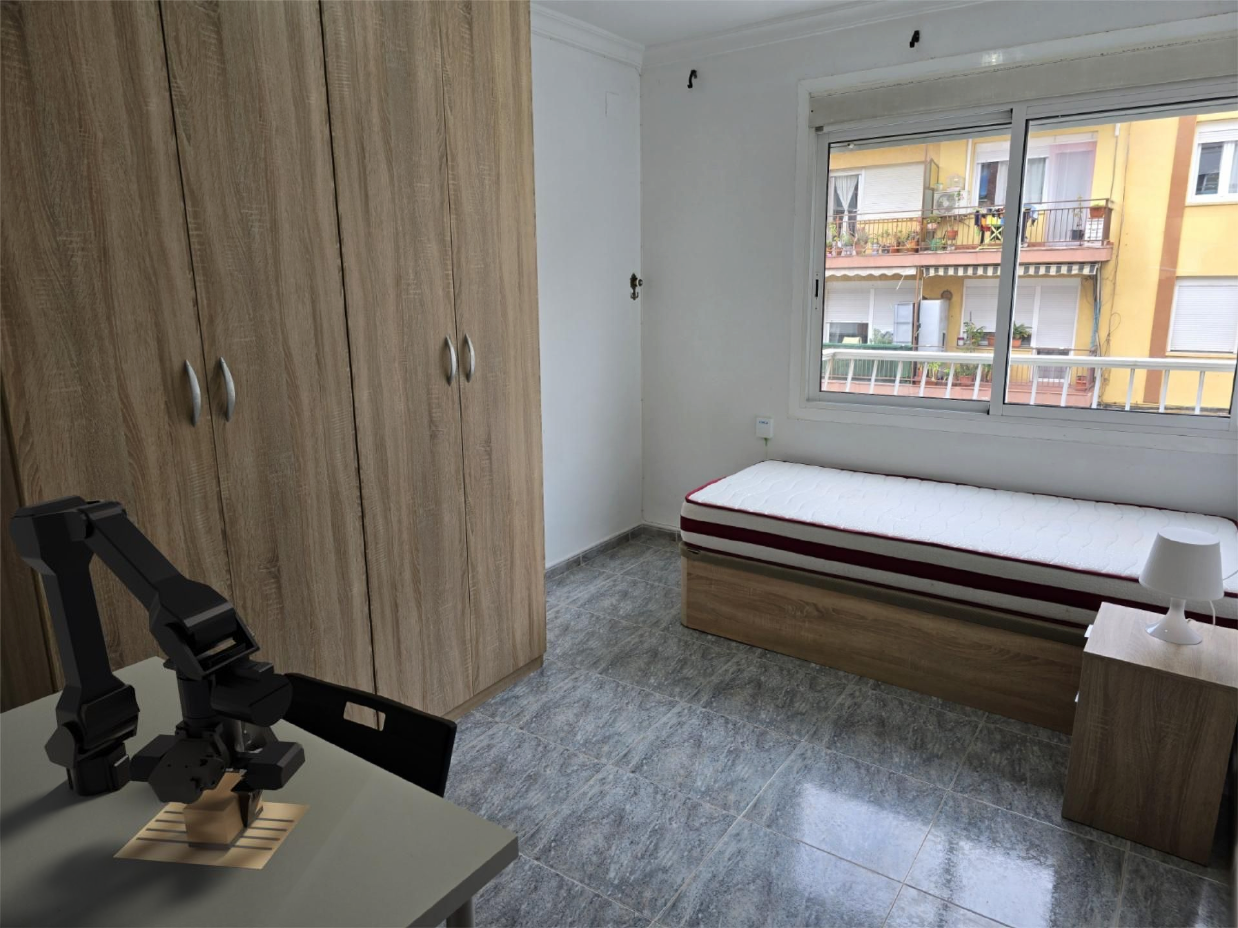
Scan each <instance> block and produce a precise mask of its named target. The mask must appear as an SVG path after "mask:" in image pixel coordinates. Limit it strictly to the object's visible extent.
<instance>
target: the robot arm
mask: <svg viewBox="0 0 1238 928" xmlns="http://www.w3.org/2000/svg"><path fill="white" fill-rule="evenodd" d="M7 529H8V534H9V536H10V537H9V538H10V539H11V541H12V542H13V544H14V545H15V547H16V550H17V553H18V556H19V558H20V559H21V560H23V561H24V562H25V563H27V564H28V566H30V567H31V568H32V569H34V570H35V572H37V573H39V575H40V578H41V581H42V585H43V590H44V594H45V599H46V603H47V606H48V607H47V608H48V611H49V616H50V621H51V625H52V630H53V634H54V637H55V641H56V642H55V644H56V645H57V652H58V656H59V660H60V664H61V668H62V673H63V677H64V683H65V685H64V687H63V690H62V692H61V694H60V696H59V699H58V701H57V703H56V705H55V709H54V710H55V718H56V726H57V727H56V728H55V730H54V731H53V733H52V735H51V736H50V737H49V738H48V740H47V741H46V743H45V744H44V745H43V746H44V750H45V753H46V755H47V758H48V760H49V762H51V763H52V764H55V765H58V766H60V767H63V768H65V771H66V775H67V776H66V777H67V781H68V787H69V788H68V789H69V790H72V791H74V794H75V795H77V796H79V797H94V796H99V795H102V794H104V793H113V792H118V791H121V790H122V789H123V788H125V786H127V784H129V783H130V782H138V783H139V782H140V783H148V785H149V787H150V788H151V790H152V791H153V793H154V794H155V796H156V798H157V800H158V801H159V802H160V803H164V804H167V803H170V802H178V803H183V804H192V803H194V802H196V801H197V800H198V799H199V798H200V797H201V796H202V794H203V791H205V790H215V789H216V788H217V786H218V784H219V783H220V781H221V779H222V778H223V776H224V774H225V773H226V771H233V770H239V773H241V779H240V780H239V781H238V782H237V784H236V785H235V786H234V787H233V788H232V789H231V790H230V791H231V792H233V793H236V794H238V798H239V805H240V812H241V819H242V823H243V826H244V828H248V827H249V826H250V825H251V823H252V821H253V818H254V815H255V812H256V809H257V806H258V803H259V800H260V797H261V796H262V794H263V791H273V792H274V791H278V790H280V789H283V788H284V787H285V785H286V784H287V783H288V782H289V781H291V778H292V777H294V775H295V774H296V773H297V772H298V771H299V769H300V768H301V767H302V766H303V765H304V764H305V762H306V757H305V755H306V754H305V748H304V747H303V744H301V743H299V742H298V741H285V740H284V741H282V740H279V741H270V742H269V743H268V744H267V745H266V746H265V747H264V748H262V749H260V748H258V749H255V750H254V751H253V750H252V751H251V750H250V751H249V750H245V746H246V745H247V744H248V743H249V742H251V741H250V735H249V733H246V732H244V733H242V729H241V722H240V721H242V722H246V723H249V724H252V725H256V726H259V727H269V726H270V727H271V726H275V725H276V724H278V722H279V721H281V719H282V718H283V717H284V716H285V715H286V713H287V712H288V709H289V708H290V705H291V703H292V699H293V684H292V683H291V682H290V680H289V678H288V677H287V676H286V675H284V674H282V673H278V672H275V666H274V664H273V663H272V662H268V661H259V660H253V659H250V657H251V656H252V655H254V654H256V653H258V652H260V651H261V647H260V646H259V644H258V643H257V640H256V639H255V633H254V632H253V631H252V630H251V629H250V628H249V627H248V625H247V623H245V621H244V620H243V619H242V617H241V615H240V614H239V612H238V611H237V609H236V608H235V606H234V605H233V604H232V603H231V601H229V600H228V599H227V598H226V597H225V596H223V595H222V594H221V593H219V591H217V590H216V589H215V588H213V587H212V586H211V585H208V584H205V583H202V582H199V581H195V580H192V579H189V578H187V577H186V576H185V575H184V574H182V572H181V571H180V570H178V568H177V567H176V566H175V565H174V564H173V563H172V561H170V560H169V559H168V558H167V556H165V555H164V554H163V553H162V552H161V551H160V550H159V549H158V547H156V545H154V543H153V542H152V541H151V540H150V539H149V538H148V537H147V536H146V535H145V534H144V533H143V532H142V531H141V530H140V529H139V527H137V526H136V524H135V523H134V522H133V521H131V519H130V518H129V517H128V513H127V510H126V508H125V506H124V505H123V504H122V503H121V502H120V501H119V500H110V499H107V500H105V499H92V500H86V499H84V498H83V497H82V496H80V495H77V494H71V495H68V496H63V497H59V498H55V499H54V498H53V499H51V500H50V499H49V500H46V501H42V502H37V503H33V504H29V505H24V506H21V507H18V508H17V509H16V510H15V512H14V514H13V516H11V517H10V519H9V521H8V526H7ZM94 556H97V557H98V558H99V560H101V561H102V563H103V564H104V565H105V566H106V567H107V568H108V569H109V570H110V571H111V572H112V574H113V575H114V576H115V577H116V578H117V579H118V580H119V581H120V582H121V584H123V585H124V587H126V588H127V589H128V591H129V592H130V593H131V594H132V595H133V596H134V597H135V598H136V599H137V600H138V601H139V602H140V603H141V605H142V606H143V607H144V609H145V610H146V611H147V613H148V630H149V633H150V634H151V635H152V636H153V638H154V639H155V641H156V642H157V644H158V646H159V649H161V651H162V652H163V654H165V656H167V657H168V658H167V659H166V660H165V661H164V662H163V663H162V666H163V669H166V670H170V671H171V670H172V671H175V677H176V683H177V689H178V691H177V692H178V697H179V704H180V711H181V717H182V720H181V721H179V722H178V723H177V724H176V725H175V730H174V734H163V733H161V734H158V735H156V737H154V738H153V739H151V741H149V742H148V743H147V744H146V745H144V746H143V747H142V748H140V749H139V750H138V751H137V752H136V753H134V754H133V755H132V757H130V755H129V754H127V749H126V743H125V741H128V740H129V739H131V738H134V737H136V736H137V733H138V724H139V718H140V716H139V715H140V712H141V709H140V706H139V704H138V702H137V701H138V700H137V695H136V689H135V687H134V686H133V685H132V684H130V683H129V684H128V683H125V682H124V681H123V680H121V679H120V678H119V677H117V676H116V675H115V674H114V673H113V670H112V666H111V662H110V656H109V652H108V647H107V642H106V639H105V633H104V628H103V624H102V619H101V615H100V610H99V609H100V608H99V605H98V601H97V597H96V591H95V588H94V583H93V578H92V573H91V567H90V565H91V563H92V560H93V558H94ZM231 640H232V641H233V642H234V643H233V644H231V645H229V646H227V647H225V648H223V649H220V650H219V651H217V652H213V651H211V650H213V649H215V648H217V647H219V646H221V645H224V644H226V643H228V642H230V641H231Z"/></svg>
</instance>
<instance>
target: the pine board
mask: <svg viewBox="0 0 1238 928" xmlns="http://www.w3.org/2000/svg"><path fill="white" fill-rule="evenodd" d="M262 803H263V812H262V813H261V814H260V815H259V816H258V817H257V819H256V820H255V821H254V822H253V823H252V824H251V825H250V827H249V828H248V829H247V830H246V831H245V832H244V834H243V835H242V836H241V837H240V838H239V839H238V840H237V842H236V843H235V844H234V845H233V846H232V847H231V849H230V850H221V849H207V848H192V847H189V846H188V839H187V833H186V827H185V820H184V814H183V808H184V807H185V806H186V805H187V804H183V803H178V802H168V804H167V805H166V806H165V807H163V809H162V810H161V811H159V813H157V814H156V815H155V816H154V817H153V818H152V819H150V821H149V822H148V823H147V824H146V825H145V826H144V827H143V828H141V830H140V831H138V833H136V834H135V835H134V836H133V837H132V838H131V839H130V840H129V841H128V842H127V843H126V844H125V845H124V846H123V847H122V848H121V849H119V851H118V852H116V853H115V854H114V856H113V858H118V859H119V858H120V859H131V860H132V859H133V860H142V861H143V860H146V861H157V862H168V863H180V864H193V865H194V864H195V865H205V866H217V867H218V866H219V867H230V868H242V869H243V868H244V869H253V870H262V868H264V867H265V865H266V864H267V862H268V861H269V860H270V859H271V857H272V856H273V855H274V854H275V852H276V850H277V849H278V848H279V847H280V845H281V844H282V843H283V842H284V841H285V839H286V838H287V837H288V835H289V834H290V833H291V831H292V830H293V829H294V827H296V825H297V823H298V822H299V821H301V819H302V817H304V814H305V813H306V812H307V811H308V809H309V808H310V807H311V805H310V804H297V803H285V802H272V801H271V802H269V801H262Z"/></svg>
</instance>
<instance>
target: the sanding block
mask: <svg viewBox="0 0 1238 928" xmlns="http://www.w3.org/2000/svg"><path fill="white" fill-rule="evenodd" d="M240 779H241V772H239V773H225V774H224V776H223V778H222V779H221V781H220V783H219V784H218V786H217V788H216V789H215V790H205V791H203V794H202V796H201V797H200V798H199V799H198V800H197V801H196V802H194V803H192V804H187V805H186V806H185V807H184V808H183V814H184V820H185V827H186V833H187V839H188V846H189V847H192V848H207V849H221V850H230V849H231V847H232V846H233V845H234V844H235V843H236V842H237V840H238V839H239V838H240V837H241V836H242V835H243V834H244V832H245V831H246V830H247V829H248V828H249V827H250V826H249V827H248V828H244V826H243V823H242V819H241V812H240V805H239V798H238V794H236V793H233V792H231V791H230V790H231V789H232V788H233V787H234V786H235V785H236V784H237V782H238V781H239V780H240ZM262 797H263V796H262V795H261V797H260V800H259V803H258V806H257V809H256V812H255V815H254V818H253V821H252V823H253V822H254V821H255V820H256V819H257V817H258V816H259V815H260V814H261V813H262V812H263V803H262V802H263V798H262ZM252 823H251V824H252Z"/></svg>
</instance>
